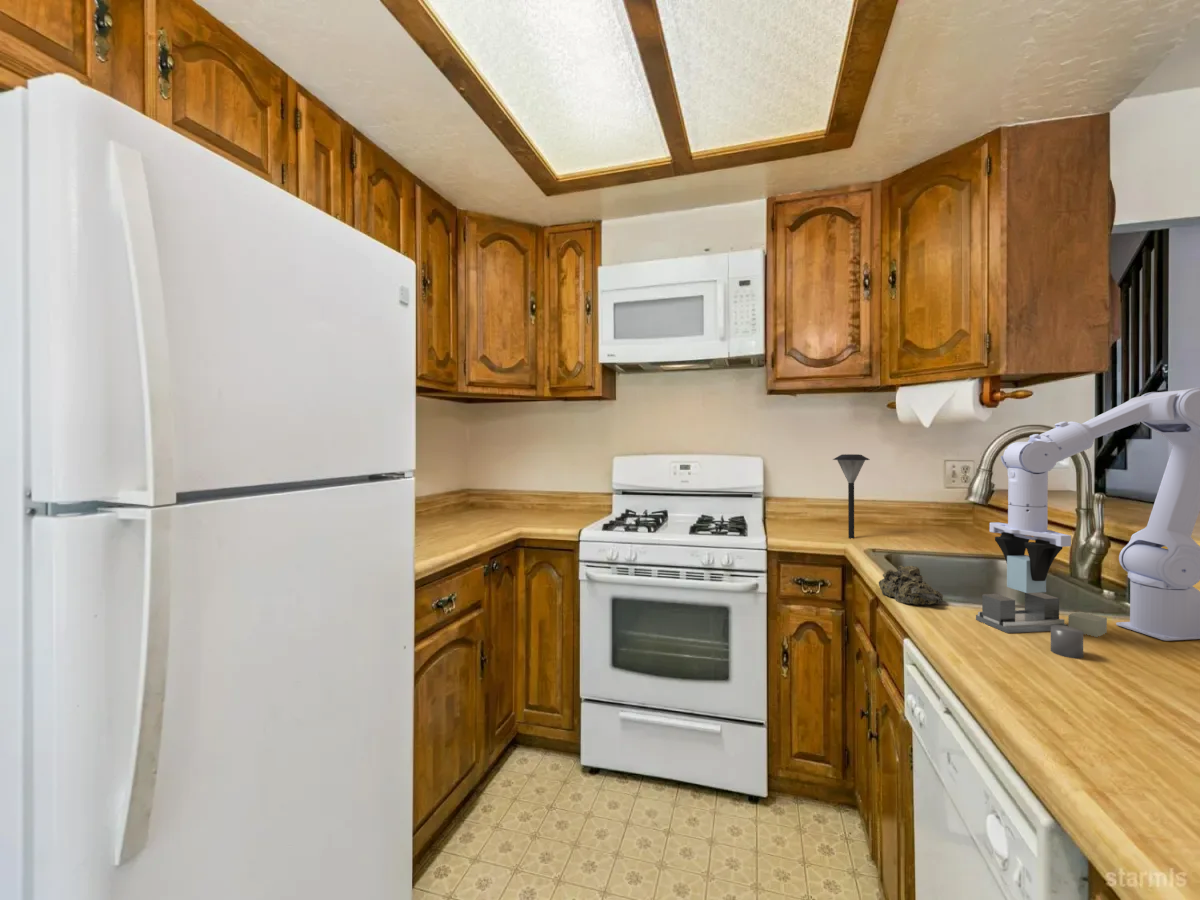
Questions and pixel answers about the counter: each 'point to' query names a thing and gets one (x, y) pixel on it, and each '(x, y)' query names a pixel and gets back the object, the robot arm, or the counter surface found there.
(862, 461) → the solar garden light
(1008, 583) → the block
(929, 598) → the rock
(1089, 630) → the block
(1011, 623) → the rail base
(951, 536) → the counter surface
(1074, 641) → the grey rounded cylinder
